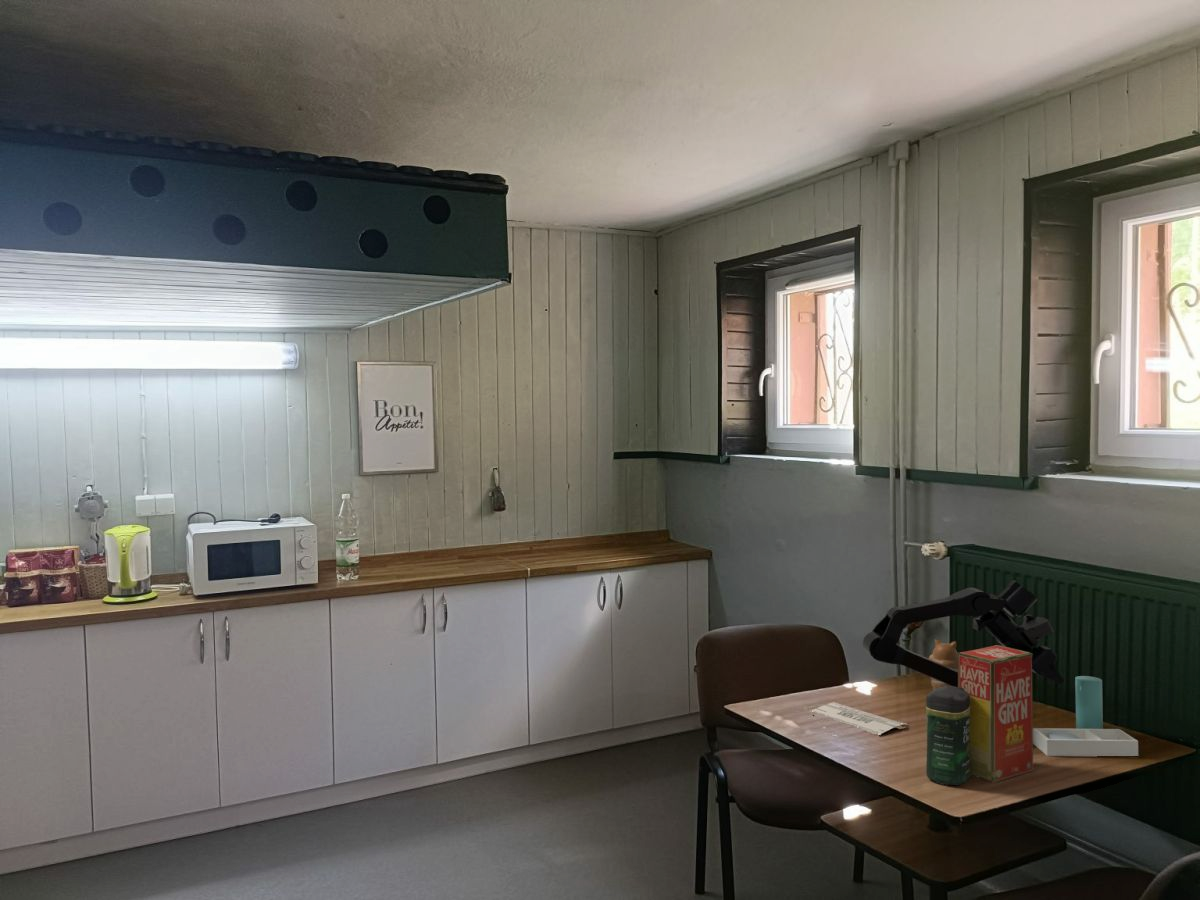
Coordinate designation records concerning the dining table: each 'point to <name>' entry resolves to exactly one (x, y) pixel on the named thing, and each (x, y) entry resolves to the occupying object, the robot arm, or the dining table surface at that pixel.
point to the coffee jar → (948, 735)
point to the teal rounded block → (1088, 702)
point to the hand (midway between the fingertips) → (1053, 677)
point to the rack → (1084, 742)
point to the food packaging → (999, 710)
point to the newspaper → (858, 718)
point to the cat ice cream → (944, 659)
